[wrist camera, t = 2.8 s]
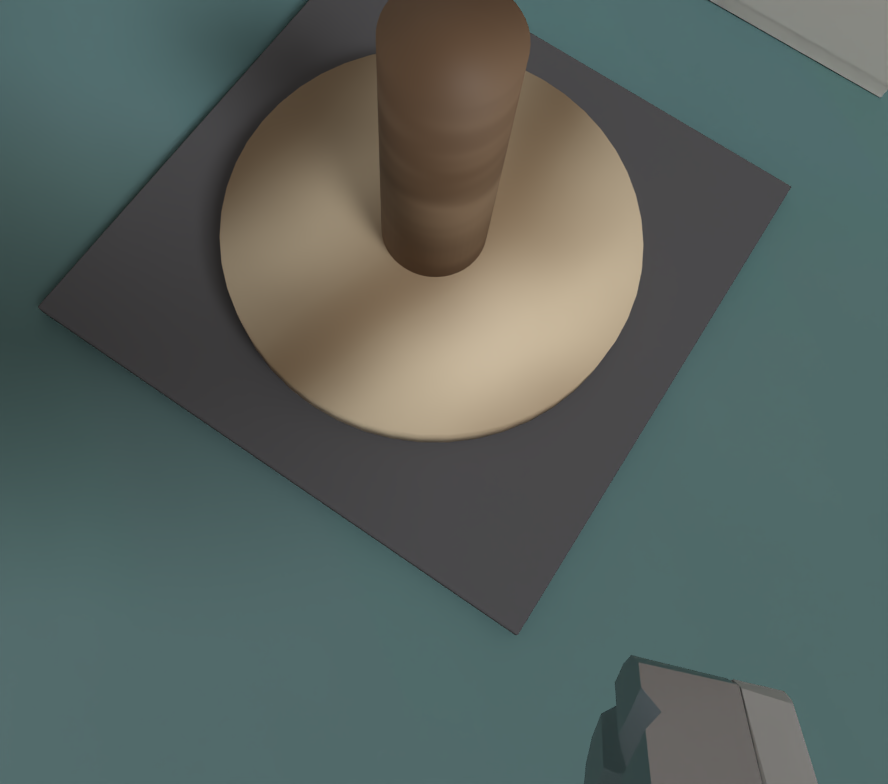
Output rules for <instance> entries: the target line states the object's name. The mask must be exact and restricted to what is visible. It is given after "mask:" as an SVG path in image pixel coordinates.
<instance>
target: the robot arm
mask: <svg viewBox="0 0 888 784" xmlns="http://www.w3.org/2000/svg"><path fill="white" fill-rule="evenodd" d="M615 693H616V706H615V707H613V708H611V709H609V710H607V711H605V712H603V713H601V715H600V718H599V721H598V723H597V726H596V728H595V731H594V733H593V736H592V739H591V744H590V748H589V752H588V757H587V761H586V768H585V780H584V784H818V782H817V779H816V776H815V773H814V769H813V766H812V763H811V760H810V756H809V753H808V750H807V747H806V744H805V740H804V737H803V734H802V731H801V728H800V724H799V721H798V718H797V715H796V711H795V708H794V705H793V702H792V700H791V699H790V698H789V696H788V695H787V694H786V693H785V692H784V691H780V690H776V689H772V688H768V687H763V686H759V685H755V684H751V683H747V682H742V681H738V680H734V679H733V680H731V681H730V680H729V679H727V678H723V677H719V676H715V675H710V674H706V673H702V672H698V671H694V670H690V669H686V668H682V667H678V666H674V665H670V664H665V663H661V662H657V661H653V660H649V659H645V658H641V657H637V656H633V655H631V656H630V657H629V658H628V659H627V660H626V662H625V663H624V664H623V666H622V668H621V670H620V672H619V675H618V677H617V679H616V681H615Z"/></svg>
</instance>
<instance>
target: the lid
mask: <svg viewBox="0 0 888 784" xmlns="http://www.w3.org/2000/svg"><path fill="white" fill-rule="evenodd" d="M530 45H531V43H530V32H529V27H528V24H527V22H526V19H525V17H524V15H523V13H522V11H521V10H520V8H519V7H518V6H517V4H516V3H515V2H514V1H513V0H388V2H387V3H386V5H385V6H384V8H383V10H382V11H381V13H380V16H379V19H378V22H377V27H376V54H374V55H369V56H366V57H363V58H359V59H356V60H353V61H350V62H347V63H344V64H342V65H340V66H338V67H335V68H333V69H331V70H329V71H327V72H324V73H322V74H320V75H319V76H317V77H315V78H314V79H312V80H311V81H309V82H307V83H306V84H304V85H302V86H301V87H299V88H298V89H297V90H296V91H294V92H293V93H292V94H291V95H289V96H288V97H287V98H286V99H284V100H283V101H282V102H281V103H279V104H278V106H277V107H276V108H275V109H274V110H273V111H272V112H271V113H270V114H269V115H268V116H267V117H266V118H265V119H264V120H263V121H262V122H261V124H260V125H259V126H258V128H257V129H256V131H255V132H254V133H253V135H252V136H251V137H250V139H249V140H248V141H247V143H246V145H245V147H244V149H243V151H242V152H241V154H240V156H239V158H238V160H237V162H236V164H235V166H234V169H233V172H232V174H231V177H230V180H229V182H228V185H227V188H226V193H225V197H224V202H223V206H222V211H221V224H220V249H221V263H222V267H223V272H224V276H225V281H226V285H227V289H228V292H229V294H230V297H231V299H232V302H233V305H234V307H235V310H236V313H237V315H238V317H239V319H240V321H241V323H242V325H243V327H244V329H245V331H246V332H247V334H248V336H249V338H250V340H251V341H252V343H253V345H254V347H255V349H256V350H257V351H258V353H259V354H260V355H261V357H262V358H263V359H264V361H265V362H266V363H267V365H268V366H269V367H270V369H271V370H272V371H273V372H274V373H275V374H276V375H277V376H278V377H279V378H280V379H281V380H282V381H283V382H284V383H285V384H286V385H287V386H288V387H289V388H290V389H291V390H292V391H294V392H295V393H296V394H298V395H299V396H300V397H301V398H303V399H304V400H305V401H307V402H308V403H309V404H311V405H312V406H313V407H315V408H317V409H319V410H320V411H322V412H324V413H326V414H327V415H329V416H331V417H333V418H334V419H336V420H338V421H340V422H343V423H345V424H348V425H350V426H353V427H355V428H357V429H360V430H362V431H365V432H369V433H373V434H377V435H380V436H384V437H388V438H392V439H399V440H407V441H414V442H455V441H463V440H471V439H477V438H481V437H485V436H489V435H493V434H497V433H501V432H504V431H506V430H509V429H511V428H514V427H516V426H519V425H521V424H524V423H526V422H529V421H530V420H532V419H534V418H536V417H537V416H539V415H541V414H543V413H544V412H546V411H548V410H550V409H552V408H553V407H554V406H556V405H557V404H558V403H560V402H561V401H562V400H563V399H565V398H566V397H567V396H569V395H570V394H571V393H573V392H574V391H575V390H576V389H577V388H578V387H579V386H580V385H581V384H582V383H583V382H584V381H585V380H586V379H587V378H588V377H589V376H590V375H591V374H592V372H593V371H594V370H595V368H596V367H597V366H598V364H599V363H600V362H601V360H602V359H603V358H604V356H605V355H606V354H607V352H608V351H609V350H610V348H611V347H612V345H613V344H614V343H615V341H616V340H617V338H618V336H619V334H620V332H621V330H622V328H623V327H624V325H625V323H626V321H627V319H628V317H629V314H630V311H631V309H632V306H633V303H634V300H635V298H636V295H637V291H638V286H639V281H640V276H641V272H642V260H643V232H642V220H641V215H640V211H639V206H638V202H637V197H636V194H635V191H634V188H633V186H632V183H631V180H630V178H629V175H628V172H627V170H626V168H625V167H624V165H623V163H622V161H621V159H620V157H619V155H618V153H617V151H616V150H615V148H614V147H613V145H612V144H611V143H610V141H609V140H608V138H607V137H606V136H605V134H604V133H603V131H602V130H601V129H600V128H599V126H598V125H597V124H596V123H595V122H594V121H593V120H592V119H591V118H590V117H589V116H588V114H587V113H586V112H585V111H584V110H583V109H581V108H580V107H579V106H578V105H577V104H576V103H574V102H573V101H572V100H571V99H570V98H569V97H568V96H566V95H565V94H564V93H562V92H561V91H559V90H558V89H556V88H555V87H553V86H552V85H550V84H549V83H547V82H546V81H544V80H543V79H541V78H539V77H537V76H535V75H533V74H531V73H529V72H527V71H526V66H527V62H528V58H529V53H530Z"/></svg>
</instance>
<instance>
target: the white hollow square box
mask: <svg viewBox="0 0 888 784" xmlns="http://www.w3.org/2000/svg"><path fill="white" fill-rule="evenodd" d="M710 1H712V2H713V3H715V4H717V5H719V6H720V7H722V8H724V9H726V10H727V11H729V12H731V13H733V14H734V15H736V16H738V17H740V18H741V19H743V20H745V21H747V22H748V23H750V24H752V25H754V26H755V27H757V28H759V29H761V30H762V31H764V32H766V33H768V34H770V35H771V36H773V37H775V38H777V39H778V40H780V41H782V42H784V43H785V44H787V45H789V46H791V47H792V48H794V49H796V50H798V51H799V52H801V53H803V54H805V55H806V56H808V57H810V58H812V59H813V60H815V61H817V62H819V63H820V64H822V65H824V66H826V67H827V68H829V69H831V70H833V71H835V72H836V73H838V74H840V75H842V76H843V77H845V78H847V79H849V80H850V81H852V82H854V83H856V84H857V85H859V86H861V87H863V88H864V89H866V90H868V91H870V92H871V93H873V94H875V95H877V96H878V97H880V98H881V97H882V95H883V94H884V93H885V92H886V91H887V90H888V0H710Z"/></svg>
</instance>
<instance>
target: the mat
mask: <svg viewBox="0 0 888 784" xmlns="http://www.w3.org/2000/svg"><path fill="white" fill-rule="evenodd" d="M387 2H388V0H309V1H308V2H307V3H306V4H305V6H304V7H303V8H302V9H301V10H300V11H299V12H298V13H297V15H296V16H295V17H294V18H293V19H292V20H291V21H290V23H289V24H288V25H287V26H286V27H285V28H284V29H283V30H282V32H281V33H280V34H279V35H278V36H277V37H276V38H275V39H274V41H273V42H272V43H271V44H270V45H269V46H268V47H267V49H266V50H265V51H264V52H263V53H262V54H261V55H260V56H259V58H258V59H257V60H256V61H255V62H254V63H253V64H252V65H251V67H250V68H249V69H248V70H247V71H246V72H245V73H244V75H243V76H242V77H241V78H240V79H239V80H238V81H237V82H236V84H235V85H234V86H233V87H232V88H231V89H230V90H229V91H228V93H227V94H226V95H225V96H224V97H223V98H222V99H221V100H220V102H219V103H218V104H217V105H216V106H215V107H214V108H213V110H212V111H211V112H210V113H209V114H208V115H207V116H206V117H205V119H204V120H203V121H202V122H201V123H200V124H199V125H198V126H197V128H196V129H195V130H194V131H193V132H192V133H191V134H190V136H189V137H188V138H187V139H186V140H185V141H184V142H183V143H182V145H181V146H180V147H179V148H178V149H177V150H176V151H175V152H174V154H173V155H172V156H171V157H170V158H169V159H168V160H167V162H166V163H165V164H164V165H163V166H162V167H161V168H160V169H159V171H158V172H157V173H156V174H155V175H154V176H153V177H152V178H151V180H150V181H149V182H148V183H147V184H146V185H145V186H144V187H143V189H142V190H141V191H140V192H139V193H138V194H137V195H136V197H135V198H134V199H133V200H132V201H131V202H130V203H129V204H128V206H127V207H126V208H125V209H124V210H123V211H122V212H121V213H120V215H119V216H118V217H117V218H116V219H115V220H114V221H113V223H112V224H111V225H110V226H109V227H108V228H107V229H106V230H105V232H104V233H103V234H102V235H101V236H100V237H99V238H98V239H97V241H96V242H95V243H94V244H93V245H92V246H91V247H90V248H89V250H88V251H87V252H86V253H85V254H84V255H83V256H82V258H81V259H80V260H79V261H78V262H77V263H76V264H75V265H74V267H73V268H72V269H71V270H70V271H69V272H68V273H67V274H66V276H65V277H64V278H63V279H62V280H61V281H60V282H59V284H58V285H57V286H56V287H55V288H54V289H53V290H52V291H51V293H50V294H49V295H48V296H47V297H46V298H45V299H44V300H43V302H42V303H41V304H40V305H39V306H38V308H39V309H40V310H41V311H43V312H44V313H45V314H47V315H48V316H50V317H51V318H52V319H54V320H55V321H57V322H58V323H60V324H61V325H63V326H64V327H66V328H67V329H69V330H70V331H71V332H73V333H74V334H76V335H77V336H79V337H80V338H82V339H83V340H85V341H86V342H88V343H89V344H90V345H92V346H93V347H95V348H96V349H98V350H99V351H101V352H102V353H104V354H105V355H107V356H108V357H109V358H111V359H112V360H114V361H115V362H117V363H118V364H120V365H121V366H123V367H124V368H126V369H127V370H128V371H130V372H131V373H133V374H134V375H136V376H137V377H139V378H140V379H142V380H143V381H145V382H146V383H147V384H149V385H150V386H152V387H153V388H155V389H156V390H158V391H159V392H161V393H162V394H164V395H165V396H167V397H168V398H169V399H171V400H172V401H174V402H175V403H177V404H178V405H180V406H181V407H183V408H184V409H186V410H187V411H188V412H190V413H191V414H193V415H194V416H196V417H197V418H199V419H200V420H202V421H203V422H205V423H206V424H207V425H209V426H210V427H212V428H213V429H215V430H216V431H218V432H219V433H221V434H222V435H224V436H225V437H226V438H228V439H229V440H231V441H232V442H234V443H235V444H237V445H238V446H240V447H241V448H243V449H244V450H245V451H247V452H248V453H250V454H251V455H253V456H254V457H256V458H257V459H259V460H260V461H262V462H263V463H264V464H266V465H267V466H269V467H270V468H272V469H273V470H275V471H276V472H278V473H279V474H281V475H282V476H283V477H285V478H286V479H288V480H289V481H291V482H292V483H294V484H295V485H297V486H298V487H300V488H301V489H303V490H304V491H305V492H307V493H308V494H310V495H311V496H313V497H314V498H316V499H317V500H319V501H320V502H322V503H323V504H324V505H326V506H327V507H329V508H330V509H332V510H333V511H335V512H336V513H338V514H339V515H341V516H342V517H343V518H345V519H346V520H348V521H349V522H351V523H352V524H354V525H355V526H357V527H358V528H360V529H361V530H362V531H364V532H365V533H367V534H368V535H370V536H371V537H373V538H374V539H376V540H377V541H379V542H380V543H381V544H383V545H384V546H386V547H387V548H389V549H390V550H392V551H393V552H395V553H396V554H398V555H399V556H400V557H402V558H403V559H405V560H406V561H408V562H409V563H411V564H412V565H414V566H415V567H417V568H418V569H419V570H421V571H422V572H424V573H425V574H427V575H428V576H430V577H431V578H433V579H434V580H436V581H437V582H438V583H440V584H441V585H443V586H444V587H446V588H447V589H449V590H450V591H452V592H453V593H455V594H456V595H458V596H459V597H460V598H462V599H463V600H465V601H466V602H468V603H469V604H471V605H472V606H474V607H475V608H477V609H478V610H479V611H481V612H482V613H484V614H485V615H487V616H488V617H490V618H491V619H493V620H494V621H496V622H497V623H498V624H500V625H501V626H503V627H504V628H506V629H507V630H509V631H510V632H512V633H513V634H515V635H518V634H519V632H520V630H521V629H522V627H523V625H524V624H525V622H526V620H527V619H528V617H529V616H530V614H531V612H532V611H533V609H534V607H535V606H536V604H537V602H538V601H539V599H540V598H541V596H542V594H543V593H544V591H545V589H546V588H547V586H548V584H549V583H550V581H551V580H552V578H553V576H554V575H555V573H556V571H557V570H558V568H559V566H560V565H561V563H562V562H563V560H564V558H565V557H566V555H567V553H568V552H569V550H570V548H571V547H572V545H573V543H574V542H575V540H576V539H577V537H578V535H579V534H580V532H581V530H582V529H583V527H584V525H585V524H586V522H587V521H588V519H589V517H590V516H591V514H592V512H593V511H594V509H595V507H596V506H597V504H598V503H599V501H600V499H601V498H602V496H603V494H604V493H605V491H606V489H607V488H608V486H609V485H610V483H611V481H612V480H613V478H614V476H615V475H616V473H617V471H618V470H619V468H620V467H621V465H622V463H623V462H624V460H625V458H626V457H627V455H628V453H629V452H630V450H631V449H632V447H633V445H634V444H635V442H636V440H637V439H638V437H639V435H640V434H641V432H642V431H643V429H644V427H645V426H646V424H647V422H648V421H649V419H650V417H651V416H652V414H653V413H654V411H655V409H656V408H657V406H658V404H659V403H660V401H661V399H662V398H663V396H664V395H665V393H666V391H667V390H668V388H669V386H670V385H671V383H672V381H673V380H674V378H675V376H676V375H677V373H678V372H679V370H680V368H681V367H682V365H683V363H684V362H685V360H686V358H687V357H688V355H689V354H690V352H691V350H692V349H693V347H694V345H695V344H696V342H697V340H698V339H699V337H700V336H701V334H702V332H703V331H704V329H705V327H706V326H707V324H708V322H709V321H710V319H711V318H712V316H713V314H714V313H715V311H716V309H717V308H718V306H719V304H720V303H721V301H722V300H723V298H724V296H725V295H726V293H727V291H728V290H729V288H730V286H731V285H732V283H733V282H734V280H735V278H736V277H737V275H738V273H739V272H740V270H741V268H742V267H743V265H744V264H745V262H746V260H747V259H748V257H749V255H750V254H751V252H752V250H753V249H754V247H755V246H756V244H757V242H758V241H759V239H760V237H761V236H762V234H763V232H764V231H765V229H766V228H767V226H768V224H769V223H770V221H771V219H772V218H773V216H774V214H775V213H776V211H777V209H778V208H779V206H780V205H781V203H782V201H783V200H784V198H785V196H786V195H787V193H788V191H789V190H790V188H791V186H789V185H788V184H786V183H784V182H783V181H781V180H779V179H777V178H776V177H774V176H772V175H771V174H769V173H767V172H766V171H764V170H762V169H761V168H759V167H757V166H755V165H754V164H752V163H750V162H749V161H747V160H745V159H744V158H742V157H740V156H738V155H737V154H735V153H733V152H732V151H730V150H728V149H727V148H725V147H723V146H722V145H720V144H718V143H716V142H715V141H713V140H711V139H710V138H708V137H706V136H705V135H703V134H701V133H699V132H698V131H696V130H694V129H693V128H691V127H689V126H688V125H686V124H684V123H683V122H681V121H679V120H677V119H676V118H674V117H672V116H671V115H669V114H667V113H666V112H664V111H662V110H660V109H659V108H657V107H655V106H654V105H652V104H650V103H649V102H647V101H645V100H644V99H642V98H640V97H638V96H637V95H635V94H633V93H632V92H630V91H628V90H627V89H625V88H623V87H621V86H620V85H618V84H616V83H615V82H613V81H611V80H610V79H608V78H606V77H605V76H603V75H601V74H599V73H598V72H596V71H594V70H593V69H591V68H589V67H588V66H586V65H584V64H583V63H581V62H579V61H577V60H576V59H574V58H572V57H571V56H569V55H567V54H566V53H564V52H562V51H560V50H559V49H557V48H555V47H554V46H552V45H550V44H549V43H547V42H545V41H544V40H542V39H540V38H538V37H537V36H535V35H533V34H532V33H530V43H531V45H530V53H529V58H528V62H527V66H526V71H527V72H529V73H531V74H533V75H535V76H537V77H539V78H541V79H543V80H544V81H546V82H547V83H549V84H550V85H552V86H553V87H555V88H556V89H558V90H559V91H561V92H562V93H564V94H565V95H566V96H568V97H569V98H570V99H571V100H572V101H573V102H574V103H576V104H577V105H578V106H579V107H580V108H581V109H583V110H584V111H585V112H586V113H587V114H588V116H589V117H590V118H591V119H592V120H593V121H594V122H595V123H596V124H597V125H598V126H599V128H600V129H601V130H602V131H603V133H604V134H605V136H606V137H607V138H608V140H609V141H610V143H611V144H612V145H613V147H614V148H615V150H616V151H617V153H618V155H619V157H620V159H621V161H622V163H623V165H624V167H625V168H626V170H627V172H628V175H629V178H630V180H631V183H632V186H633V188H634V191H635V194H636V197H637V202H638V206H639V211H640V215H641V220H642V232H643V260H642V272H641V276H640V281H639V286H638V291H637V295H636V298H635V300H634V303H633V306H632V309H631V311H630V314H629V317H628V319H627V321H626V323H625V325H624V327H623V328H622V330H621V332H620V334H619V336H618V338H617V340H616V341H615V343H614V344H613V345H612V347H611V348H610V350H609V351H608V352H607V354H606V355H605V356H604V358H603V359H602V360H601V362H600V363H599V364H598V366H597V367H596V368H595V370H594V371H593V372H592V374H591V375H590V376H589V377H588V378H587V379H586V380H585V381H584V382H583V383H582V384H581V385H580V386H579V387H578V388H577V389H576V390H575V391H574V392H573V393H571V394H570V395H569V396H567V397H566V398H565V399H563V400H562V401H561V402H560V403H558V404H557V405H556V406H554V407H553V408H552V409H550V410H548V411H546V412H544V413H543V414H541V415H539V416H537V417H536V418H534V419H532V420H530V421H529V422H526V423H524V424H521V425H519V426H516V427H514V428H511V429H509V430H506V431H504V432H501V433H497V434H493V435H489V436H485V437H481V438H477V439H471V440H463V441H455V442H414V441H407V440H399V439H392V438H388V437H384V436H380V435H377V434H373V433H369V432H365V431H362V430H360V429H357V428H355V427H353V426H350V425H348V424H345V423H343V422H340V421H338V420H336V419H334V418H333V417H331V416H329V415H327V414H326V413H324V412H322V411H320V410H319V409H317V408H315V407H313V406H312V405H311V404H309V403H308V402H307V401H305V400H304V399H303V398H301V397H300V396H299V395H298V394H296V393H295V392H294V391H292V390H291V389H290V388H289V387H288V386H287V385H286V384H285V383H284V382H283V381H282V380H281V379H280V378H279V377H278V376H277V375H276V374H275V373H274V372H273V371H272V370H271V369H270V367H269V366H268V365H267V363H266V362H265V361H264V359H263V358H262V357H261V355H260V354H259V353H258V351H257V350H256V349H255V347H254V345H253V343H252V341H251V340H250V338H249V336H248V334H247V332H246V331H245V329H244V327H243V325H242V323H241V321H240V319H239V317H238V315H237V313H236V310H235V307H234V305H233V302H232V299H231V297H230V294H229V292H228V289H227V285H226V281H225V276H224V272H223V267H222V263H221V249H220V224H221V211H222V206H223V202H224V197H225V193H226V188H227V185H228V182H229V180H230V177H231V174H232V172H233V169H234V166H235V164H236V162H237V160H238V158H239V156H240V154H241V152H242V151H243V149H244V147H245V145H246V143H247V141H248V140H249V139H250V137H251V136H252V135H253V133H254V132H255V131H256V129H257V128H258V126H259V125H260V124H261V122H262V121H263V120H264V119H265V118H266V117H267V116H268V115H269V114H270V113H271V112H272V111H273V110H274V109H275V108H276V107H277V106H278V104H279V103H281V102H282V101H283V100H284V99H286V98H287V97H288V96H289V95H291V94H292V93H293V92H294V91H296V90H297V89H298V88H299V87H301V86H302V85H304V84H306V83H307V82H309V81H311V80H312V79H314V78H315V77H317V76H319V75H320V74H322V73H324V72H327V71H329V70H331V69H333V68H335V67H338V66H340V65H342V64H344V63H347V62H350V61H353V60H356V59H359V58H363V57H366V56H369V55H374V54H376V27H377V22H378V19H379V16H380V13H381V11H382V10H383V8H384V6H385V5H386V3H387Z"/></svg>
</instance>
